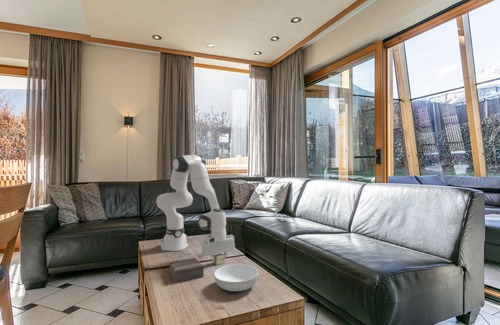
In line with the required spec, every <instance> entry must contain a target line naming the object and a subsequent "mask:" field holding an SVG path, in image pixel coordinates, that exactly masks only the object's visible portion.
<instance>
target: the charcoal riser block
mask: <svg viewBox="0 0 500 325" xmlns="http://www.w3.org/2000/svg"><path fill="white" fill-rule="evenodd" d="M204 269H205V268H204V265H203V264H202V263H201V262H200V261H199V260H198V259H197V258H195V257H193V258H189V259H183V260H178V261H171V262H169V275H170V276H171V277H172V279H173V280H174V282H175V283H176V284H178V283H182V282H187V281H193V280H197V279H201V278H205V276H204V274H205V273H204Z"/></svg>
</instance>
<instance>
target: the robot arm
mask: <svg viewBox="0 0 500 325" xmlns="http://www.w3.org/2000/svg"><path fill="white" fill-rule="evenodd" d="M206 164H207V162H206V159H205V157H204V156H203V155H201V154H200V155H199V154H184V155H177V156H175V157H174V158H173V160H172V167H173V168H172V170H171V171H172V172H171V175H170V182H169V183H170V187H171V188H172V189H174V190H175V192H165V193H162V194H159V195H157V197H156V206H157V207H158V208H159V209H160V210H161V211H162V212H163V213H164V214H165V216H166V230H165V231H166V232H165V233H166V234H165V235H164V237H163V238H161V243H160V249H161V251H162V252H165V251H166V252H176V251H182V250H185V249H186V248H188V247H189V246H190V245H189V244H188V242H187V234H185V227H184V216H183V214H181V213H179V212H177V209H181V208H185V207H190V206H191V205H192V204H193V202H194V201H193V200H194V198H193V195H192V193H191V192H189V191H188V179H189V175H190V183H191V188H192V190H193V191H194V192H195V193H196V194H198V195H200V196H203V197H205V198H206V199H207V200H208V203H209V207H210V210H211V211H209V212H206V213H203V214H200V215H199V217H198V220H197V223H198V228H200V229H201V230H203V231H207V230H210V233H209V234H208V235H205V236H204V237H203V238H202V239H203V240H202V241H203V242H202V246H201V254H202V256H204V257H207V256H210V257H211V262H212V263H213V262H215V261H216V258H214V257H213V256H214V254H218V253H222V254H224V255H225V260H226V257H227V255H228V252H231V251H234V250H235V248H236V244H235V236H234V235H233V234H229V235H228V234H227V230H226V226H227V215H226V212H225V210H224V209H222V208H221V205H220V201H219V199H218V195H217V193H216V190H215V189H214V187H213V186H212V184H211V181H210V177H209V172H208V170H207V167H206Z"/></svg>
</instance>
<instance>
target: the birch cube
mask: <svg viewBox="0 0 500 325" xmlns="http://www.w3.org/2000/svg"><path fill="white" fill-rule="evenodd" d="M213 257H214V258H216V261H215V262H213V261H212V263H213V264H214V265H216V266H221V265H224V264H225V263H226V262H225V261H226V259H225V255H224V253H223V252H222V253H217V254H214V256H213Z"/></svg>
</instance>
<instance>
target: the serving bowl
mask: <svg viewBox="0 0 500 325" xmlns="http://www.w3.org/2000/svg"><path fill="white" fill-rule="evenodd" d="M213 277H214V281H215V283H216V284H217V286H218V287H219V288H221V289H223V290H225V291H229V292H242V291H246V290H248V289H250V288H252V287H253V286H254V285H255V284H256V283H257V281H258V278H259V270H258V268H256V267H254V266H252V265H249V264H244V263H243V264H242V263H235V264H228V265H223V266H221V267H219V268H217V269H216V270H215V271H214V273H213Z"/></svg>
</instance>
